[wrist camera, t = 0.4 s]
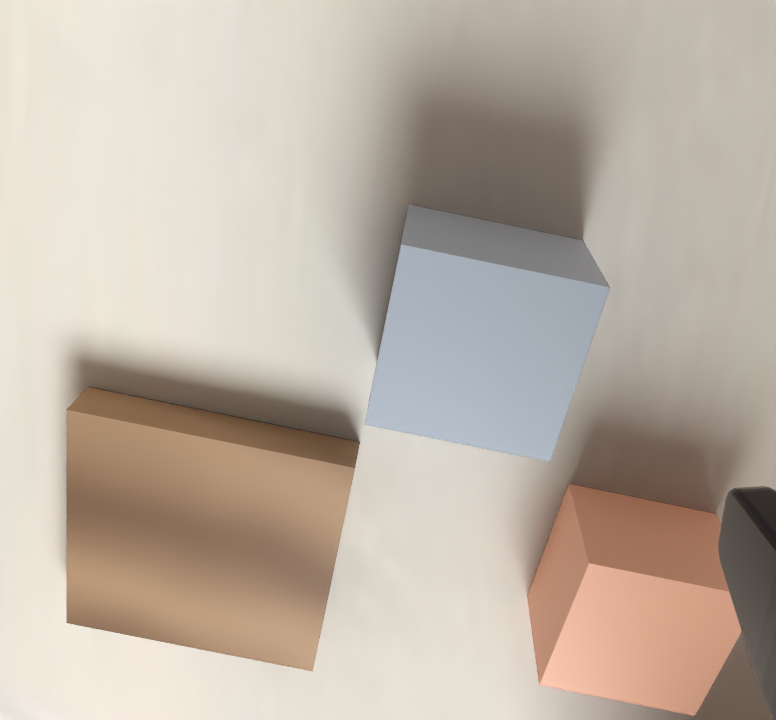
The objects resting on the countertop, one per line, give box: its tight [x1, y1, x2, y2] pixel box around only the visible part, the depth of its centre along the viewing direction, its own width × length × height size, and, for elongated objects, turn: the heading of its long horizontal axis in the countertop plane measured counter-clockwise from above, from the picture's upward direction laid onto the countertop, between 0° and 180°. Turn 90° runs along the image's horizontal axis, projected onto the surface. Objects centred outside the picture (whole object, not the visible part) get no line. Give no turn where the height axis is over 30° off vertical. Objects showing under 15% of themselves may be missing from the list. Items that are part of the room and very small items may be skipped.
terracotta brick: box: [527, 484, 742, 716], centre depth 24 cm, size 5×5×4 cm
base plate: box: [67, 387, 360, 671], centre depth 25 cm, size 9×9×2 cm
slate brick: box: [365, 204, 610, 462], centre depth 20 cm, size 5×5×4 cm
